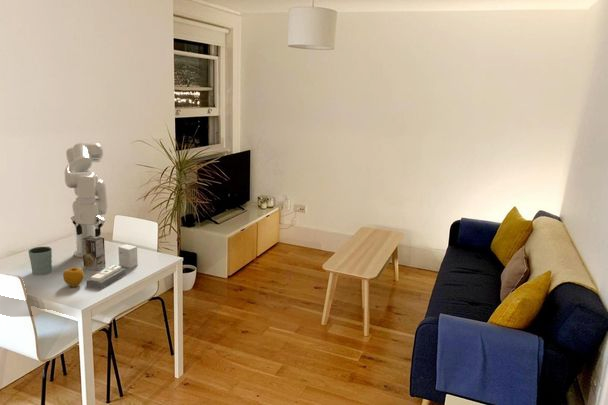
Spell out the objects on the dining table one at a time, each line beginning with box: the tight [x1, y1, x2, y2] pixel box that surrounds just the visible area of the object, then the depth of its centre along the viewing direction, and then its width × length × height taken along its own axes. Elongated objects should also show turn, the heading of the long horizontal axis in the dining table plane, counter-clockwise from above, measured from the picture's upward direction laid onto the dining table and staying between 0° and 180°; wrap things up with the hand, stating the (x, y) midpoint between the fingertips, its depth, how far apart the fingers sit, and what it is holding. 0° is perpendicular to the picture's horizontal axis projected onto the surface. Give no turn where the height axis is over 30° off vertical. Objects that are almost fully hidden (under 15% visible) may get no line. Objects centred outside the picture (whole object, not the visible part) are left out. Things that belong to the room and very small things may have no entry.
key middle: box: [98, 268, 114, 277], centre depth 225 cm, size 5×5×3 cm
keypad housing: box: [85, 267, 127, 290], centre depth 225 cm, size 19×8×3 cm, turn 166°
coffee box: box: [82, 236, 106, 271], centre depth 238 cm, size 9×6×16 cm
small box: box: [118, 244, 139, 269], centre depth 244 cm, size 8×6×10 cm
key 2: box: [106, 264, 122, 273], centre depth 231 cm, size 5×5×3 cm
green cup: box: [27, 246, 53, 276], centre depth 229 cm, size 10×10×12 cm
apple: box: [62, 267, 85, 288], centre depth 217 cm, size 9×9×9 cm
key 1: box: [90, 272, 106, 282], centre depth 219 cm, size 5×5×3 cm
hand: (88, 235), depth 222 cm, fingers open, 9 cm apart
